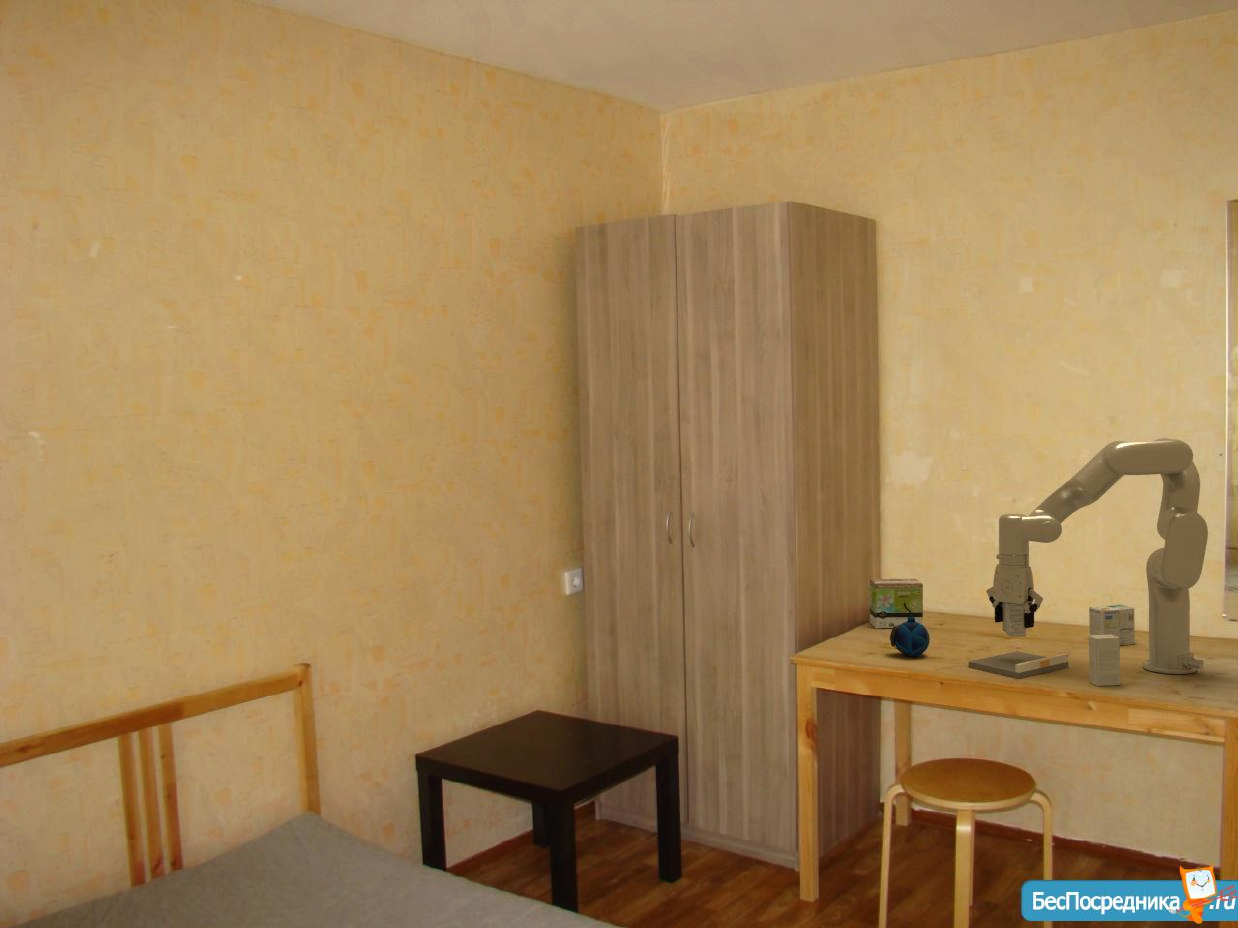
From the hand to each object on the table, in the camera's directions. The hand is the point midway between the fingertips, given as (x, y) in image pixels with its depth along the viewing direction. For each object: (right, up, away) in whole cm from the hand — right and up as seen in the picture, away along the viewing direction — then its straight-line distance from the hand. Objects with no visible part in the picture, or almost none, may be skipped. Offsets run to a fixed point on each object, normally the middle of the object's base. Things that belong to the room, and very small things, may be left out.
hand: (1014, 624), depth 289 cm
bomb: (-23, -11, +16) cm, 31 cm away
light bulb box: (+37, -9, +25) cm, 46 cm away
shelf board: (+1, -11, 0) cm, 11 cm away
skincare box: (+15, -12, -20) cm, 28 cm away
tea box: (-17, -9, +58) cm, 61 cm away
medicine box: (0, -3, 0) cm, 3 cm away
